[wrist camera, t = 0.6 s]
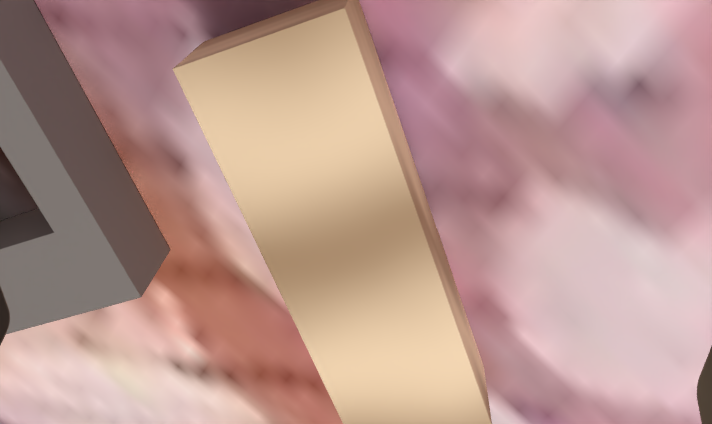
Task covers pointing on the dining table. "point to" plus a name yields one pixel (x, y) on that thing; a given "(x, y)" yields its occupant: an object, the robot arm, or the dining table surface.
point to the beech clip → (339, 212)
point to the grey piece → (64, 188)
